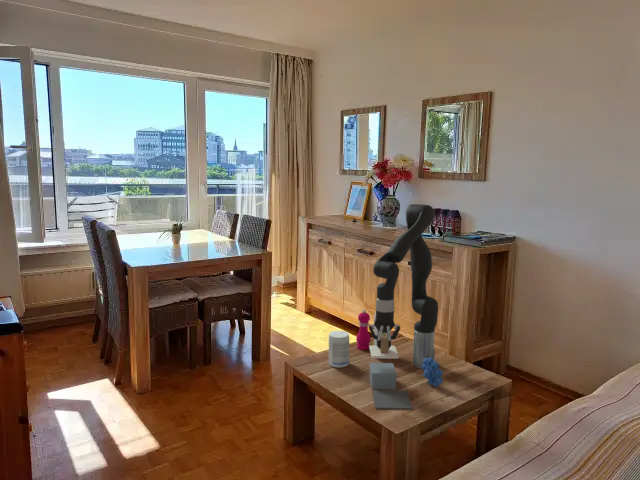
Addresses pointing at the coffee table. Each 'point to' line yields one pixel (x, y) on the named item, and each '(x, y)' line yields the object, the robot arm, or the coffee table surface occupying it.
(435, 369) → the grapes
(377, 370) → the storage box
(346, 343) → the supplement tub
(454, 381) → the coffee table surface
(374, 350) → the lid
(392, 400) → the rubber mat
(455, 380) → the coffee table surface
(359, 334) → the pepper mill
